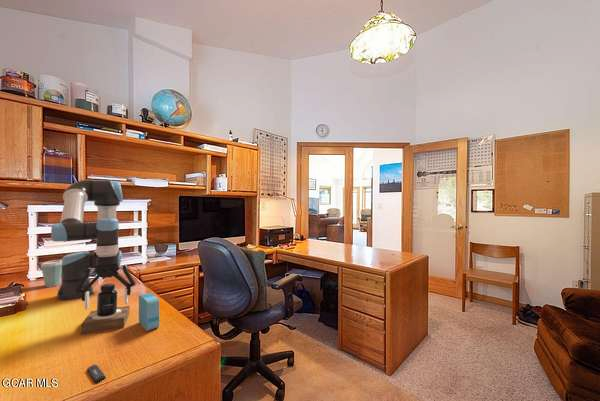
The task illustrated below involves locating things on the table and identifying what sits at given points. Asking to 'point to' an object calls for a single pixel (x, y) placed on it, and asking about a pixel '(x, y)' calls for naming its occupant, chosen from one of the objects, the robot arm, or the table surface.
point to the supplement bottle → (107, 300)
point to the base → (105, 321)
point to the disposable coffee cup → (52, 272)
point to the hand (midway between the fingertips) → (107, 305)
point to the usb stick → (96, 373)
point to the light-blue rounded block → (149, 311)
